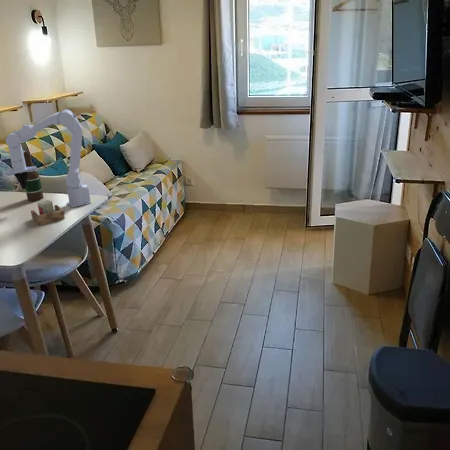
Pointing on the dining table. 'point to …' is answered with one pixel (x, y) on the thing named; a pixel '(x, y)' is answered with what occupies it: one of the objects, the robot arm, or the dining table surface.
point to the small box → (45, 207)
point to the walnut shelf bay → (48, 216)
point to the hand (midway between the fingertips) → (23, 188)
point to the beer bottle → (32, 181)
